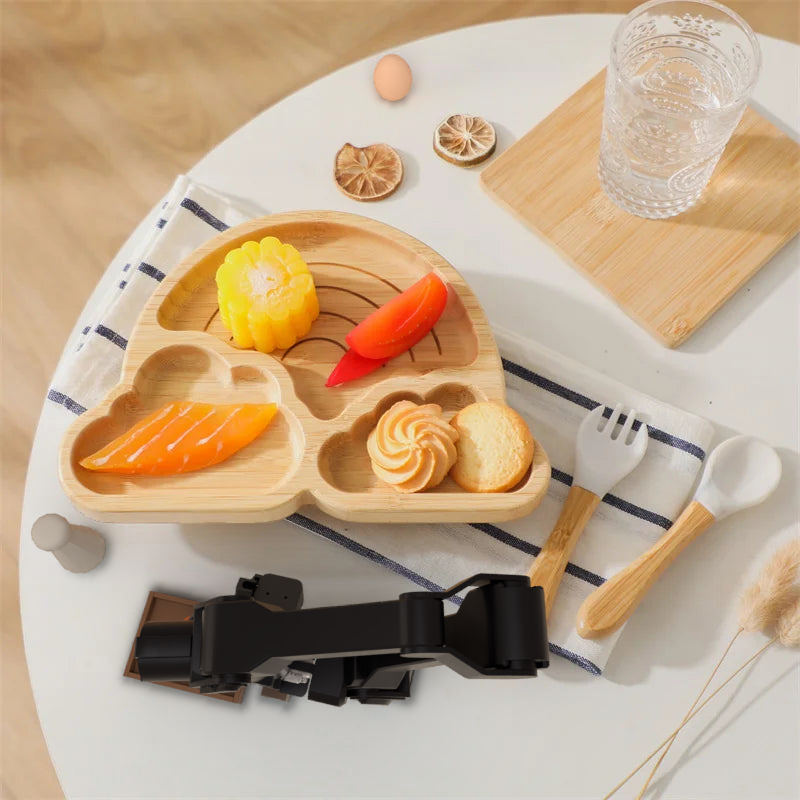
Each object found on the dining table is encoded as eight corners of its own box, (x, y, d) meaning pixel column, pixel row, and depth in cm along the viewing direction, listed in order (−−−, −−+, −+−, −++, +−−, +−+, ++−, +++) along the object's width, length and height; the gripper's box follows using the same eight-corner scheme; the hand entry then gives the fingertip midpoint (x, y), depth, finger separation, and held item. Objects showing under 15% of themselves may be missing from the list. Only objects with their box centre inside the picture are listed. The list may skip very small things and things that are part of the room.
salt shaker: (102, 581, 113) (61, 560, 101) (59, 572, 114) (13, 550, 102) (116, 535, 115) (78, 510, 103) (74, 527, 116) (31, 500, 104)
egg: (403, 74, 140) (401, 38, 133) (418, 101, 138) (417, 66, 131) (369, 87, 139) (365, 51, 132) (384, 115, 137) (381, 80, 130)
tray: (264, 618, 111) (261, 616, 109) (241, 704, 107) (237, 703, 105) (154, 593, 112) (149, 590, 111) (128, 677, 109) (122, 675, 107)
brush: (304, 641, 110) (295, 633, 103) (288, 702, 107) (278, 698, 100) (280, 635, 110) (269, 627, 103) (264, 696, 108) (252, 692, 101)
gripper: (363, 592, 93) (374, 614, 107) (189, 553, 95) (223, 580, 109) (336, 704, 89) (351, 711, 103) (156, 661, 91) (195, 674, 105)
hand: (279, 665), depth 105 cm, fingers closed
